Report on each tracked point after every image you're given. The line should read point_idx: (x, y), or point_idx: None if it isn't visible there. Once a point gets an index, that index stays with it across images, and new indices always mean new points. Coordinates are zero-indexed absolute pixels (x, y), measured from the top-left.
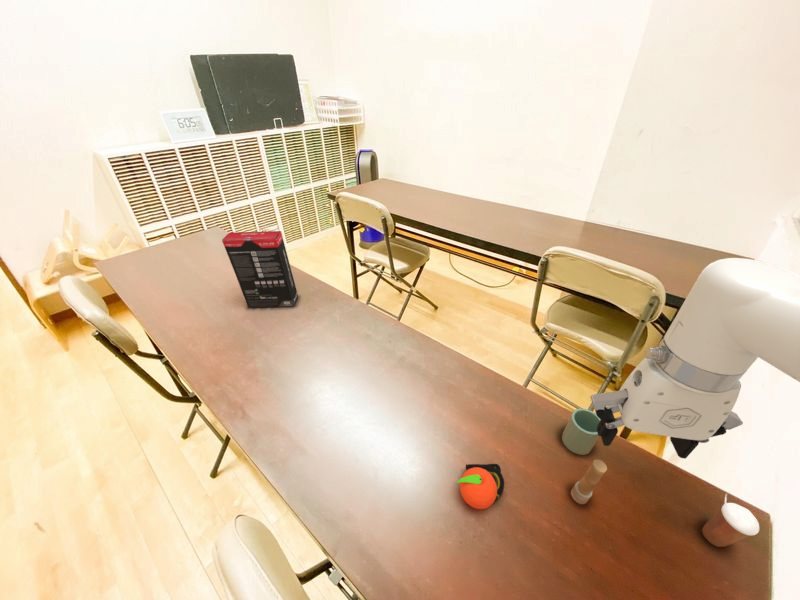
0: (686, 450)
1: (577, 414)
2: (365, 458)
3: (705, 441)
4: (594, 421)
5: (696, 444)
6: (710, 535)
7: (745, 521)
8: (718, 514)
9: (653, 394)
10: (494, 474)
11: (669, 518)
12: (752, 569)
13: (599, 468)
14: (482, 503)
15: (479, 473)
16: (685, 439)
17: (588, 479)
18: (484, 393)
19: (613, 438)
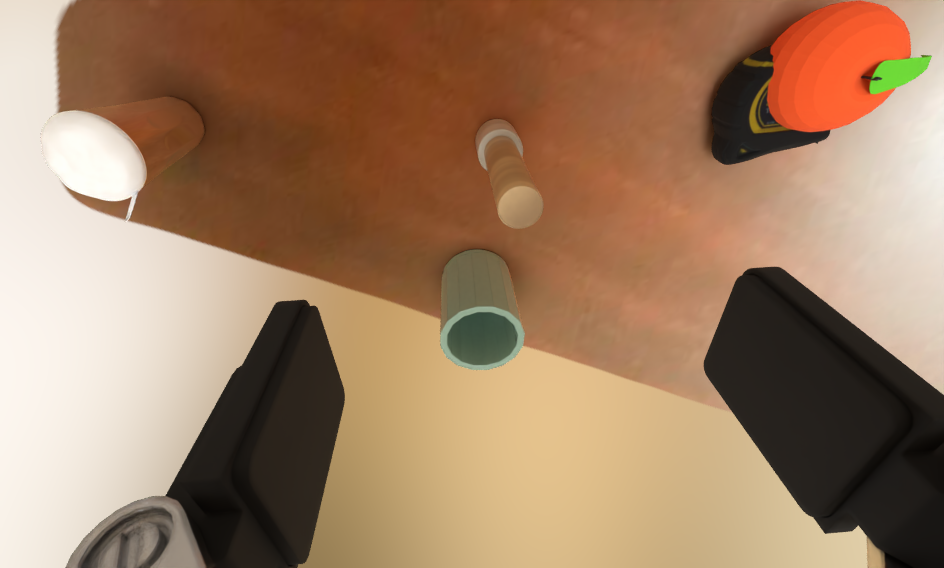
0: (278, 368)
1: (496, 349)
2: None
3: (112, 526)
4: (453, 340)
5: (201, 468)
6: (184, 115)
7: (76, 147)
8: (157, 160)
9: None
10: (758, 127)
11: (278, 141)
12: (90, 59)
13: (525, 197)
14: (857, 8)
15: (866, 100)
16: (284, 459)
17: (525, 166)
18: (676, 343)
19: (811, 332)
